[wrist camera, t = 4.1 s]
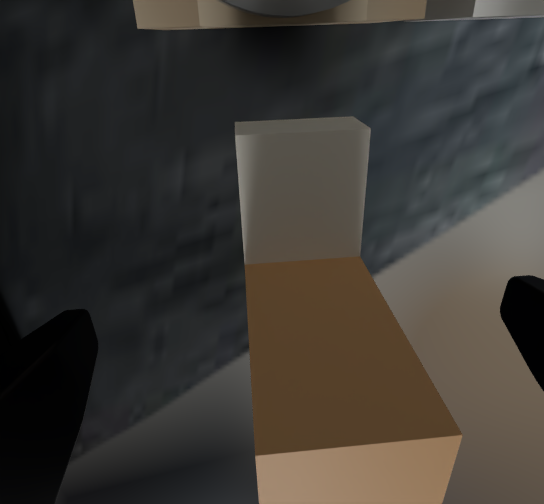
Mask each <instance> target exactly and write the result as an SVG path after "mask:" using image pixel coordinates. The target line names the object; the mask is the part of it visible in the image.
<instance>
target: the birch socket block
mask: <svg viewBox="0 0 544 504" xmlns="http://www.w3.org/2000/svg"><path fill="white" fill-rule="evenodd" d="M426 3H427V0H350V1H348V2H346V3H343V4H341V5H339V6H336V7H334V8H331V9H327V10H323V11H320V12H316V13H312V14H308V15H304V16H298V17H289V18H272V17H262V16H257V15H252V14H247V13H244V12H241V11H239V10H236V9H233V8H230V7H228V6H226V5H224V4H222V3H220V2H219V1H217V0H133V4H134V9H135V15H136V21H137V27H138V28H139V29H155V30H183V29H212V28H241V27H270V26H299V25H328V24H357V23H377V22H389V21H401V20H414V19H424V18H425V10H426Z"/></svg>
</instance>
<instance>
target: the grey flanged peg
mask: <svg viewBox="0 0 544 504" xmlns="http://www.w3.org/2000/svg"><path fill="white" fill-rule="evenodd" d="M217 1H219V2H220V3H222V4H224V5H226V6H228V7H230V8H233V9H236V10H239V11H241V12H244V13H247V14H252V15H257V16H262V17H272V18H289V17H298V16H304V15H308V14H312V13H316V12H320V11H323V10H327V9H331V8H334V7H336V6H339V5H341V4H343V3H346V2H348V1H350V0H217Z"/></svg>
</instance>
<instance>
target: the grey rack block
mask: <svg viewBox="0 0 544 504" xmlns="http://www.w3.org/2000/svg"><path fill="white" fill-rule="evenodd" d="M531 17H544V0H427V3H426V10H425V18H424V19H414V20H405V22H415V21H444V20H473V19H502V18H531Z"/></svg>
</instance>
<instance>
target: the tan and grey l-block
mask: <svg viewBox="0 0 544 504" xmlns="http://www.w3.org/2000/svg"><path fill="white" fill-rule="evenodd" d="M370 132H371V128H369V127H368V126H366V125H365V124H363V123H362V122H360V121H359V120H357V119H356V118H354V117H353V116H351V117H331V118H311V119H290V120H270V121H250V122H235V139H236V153H237V166H238V180H239V193H240V207H241V220H242V234H243V247H244V261H245V278H246V296H247V314H248V332H249V350H250V368H251V386H252V403H253V421H254V438H255V457H256V468H257V469H256V470H257V482H258V494H259V504H442V502H443V499H444V495H445V492H446V489H447V485H448V482H449V479H450V475H451V472H452V469H453V466H454V462H455V459H456V456H457V452H458V449H459V446H460V442H461V439H462V436H463V435H462V433H461V431H460V429H459V428H458V426H457V424H456V423H455V421H454V419H453V417H452V416H451V414H450V412H449V410H448V409H447V407H446V405H445V404H444V402H443V400H442V398H441V397H440V395H439V393H438V391H437V390H436V388H435V386H434V384H433V383H432V381H431V379H430V378H429V376H428V374H427V372H426V371H425V369H424V367H423V365H422V363H421V362H420V360H419V358H418V356H417V355H416V353H415V351H414V350H413V348H412V346H411V344H410V343H409V341H408V339H407V338H406V336H405V334H404V332H403V330H402V329H401V327H400V325H399V323H398V322H397V320H396V318H395V317H394V315H393V313H392V311H391V310H390V308H389V306H388V305H387V303H386V301H385V299H384V297H383V296H382V294H381V292H380V290H379V289H378V287H377V285H376V284H375V282H374V280H373V278H372V277H371V275H370V273H369V271H368V270H367V268H366V266H365V264H364V263H363V261H362V259H361V257H360V249H361V238H362V226H363V214H364V202H365V191H366V179H367V167H368V156H369V144H370Z"/></svg>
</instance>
